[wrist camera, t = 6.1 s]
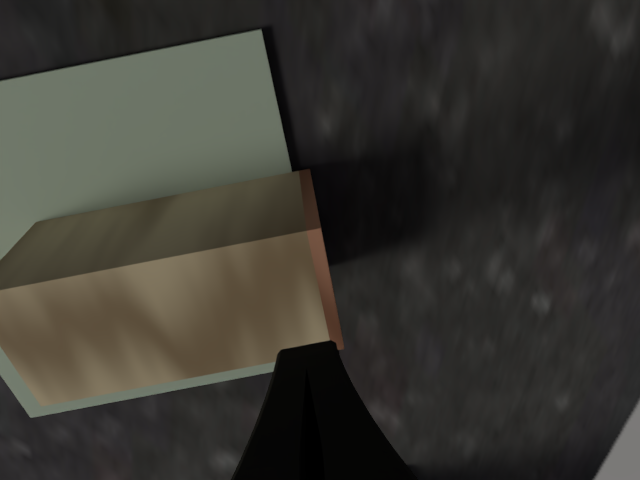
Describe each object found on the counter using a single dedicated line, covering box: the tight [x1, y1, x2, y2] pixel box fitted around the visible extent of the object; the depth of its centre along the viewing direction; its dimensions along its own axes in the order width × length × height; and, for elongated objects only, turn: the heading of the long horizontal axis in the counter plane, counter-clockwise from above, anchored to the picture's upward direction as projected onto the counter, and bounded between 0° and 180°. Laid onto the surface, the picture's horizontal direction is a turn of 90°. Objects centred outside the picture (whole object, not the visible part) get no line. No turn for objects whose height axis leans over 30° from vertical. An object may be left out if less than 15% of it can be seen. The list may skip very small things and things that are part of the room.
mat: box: [0, 29, 292, 418], centre depth 18 cm, size 14×14×1 cm
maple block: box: [0, 169, 344, 407], centre depth 16 cm, size 4×4×10 cm
